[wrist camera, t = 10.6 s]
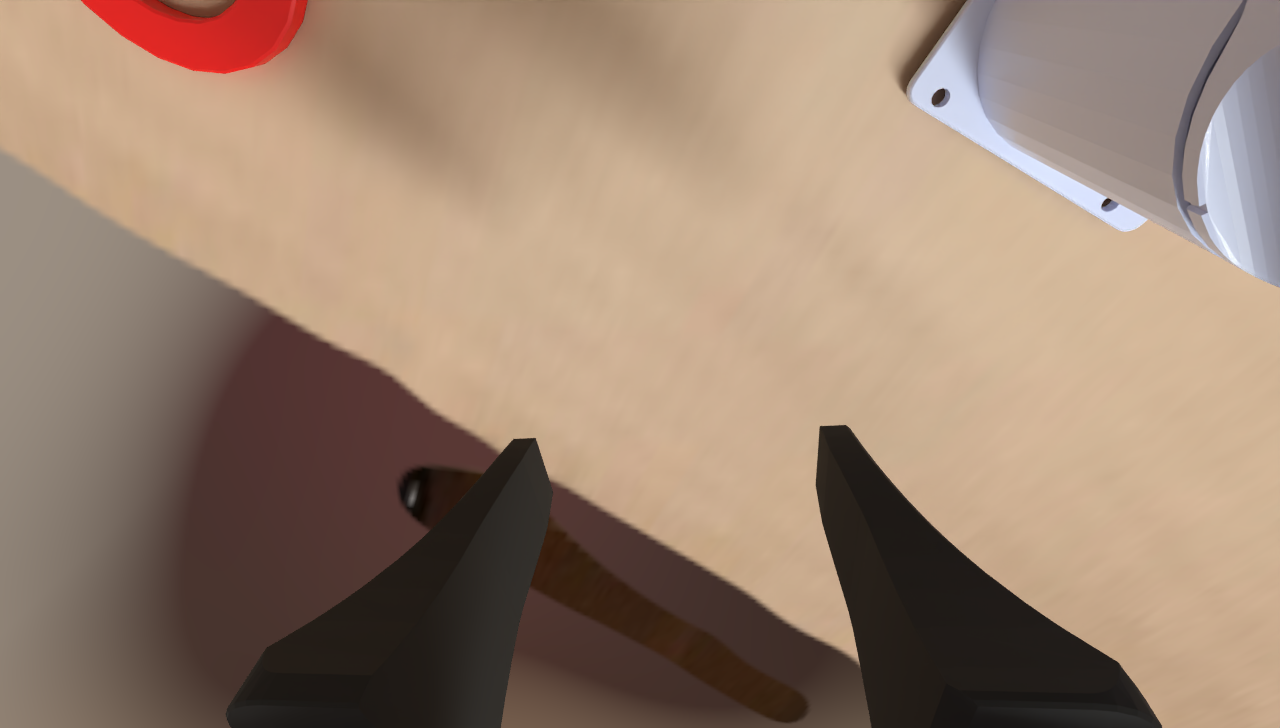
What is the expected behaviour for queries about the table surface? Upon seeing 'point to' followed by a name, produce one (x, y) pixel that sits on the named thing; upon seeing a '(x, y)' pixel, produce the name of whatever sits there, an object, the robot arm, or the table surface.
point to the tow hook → (206, 31)
